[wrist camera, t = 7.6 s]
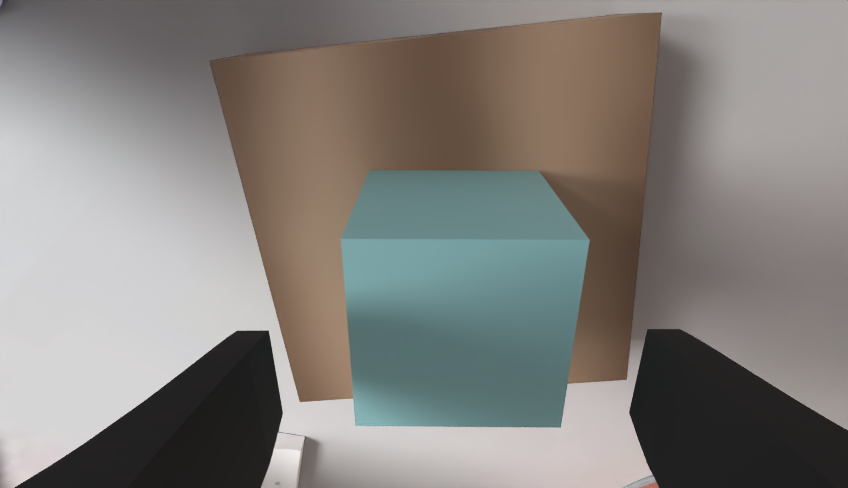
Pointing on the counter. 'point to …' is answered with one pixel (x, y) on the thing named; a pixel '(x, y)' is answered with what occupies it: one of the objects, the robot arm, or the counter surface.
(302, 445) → the headphone stand
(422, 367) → the teal cube
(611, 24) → the square wooden block
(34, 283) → the counter surface
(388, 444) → the counter surface
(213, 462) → the robot arm
